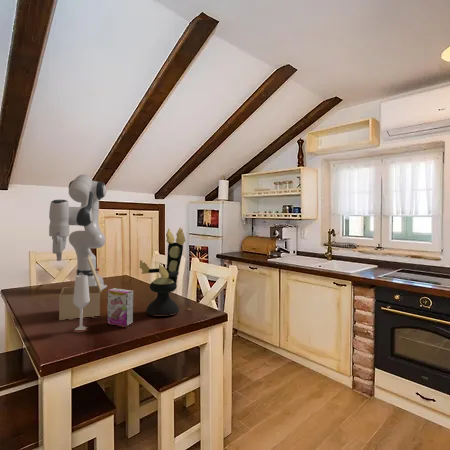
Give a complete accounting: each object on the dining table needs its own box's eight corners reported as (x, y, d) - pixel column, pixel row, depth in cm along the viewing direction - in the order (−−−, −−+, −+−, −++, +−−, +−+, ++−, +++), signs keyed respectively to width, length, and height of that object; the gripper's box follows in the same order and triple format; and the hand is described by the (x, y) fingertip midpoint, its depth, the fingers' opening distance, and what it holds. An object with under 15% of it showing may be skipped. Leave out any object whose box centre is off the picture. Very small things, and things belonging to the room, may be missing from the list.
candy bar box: (106, 325, 147) (106, 290, 147) (113, 321, 152) (113, 287, 152) (126, 328, 144) (127, 292, 143) (133, 325, 149) (133, 290, 148)
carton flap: (87, 259, 155) (88, 258, 155) (88, 254, 170) (89, 254, 170) (100, 292, 158) (101, 292, 158) (100, 285, 173) (101, 285, 173)
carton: (59, 320, 152) (59, 295, 151) (62, 310, 167) (62, 287, 166) (99, 316, 159) (100, 292, 158) (99, 307, 173) (100, 285, 173)
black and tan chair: (137, 312, 167) (138, 226, 165) (170, 304, 184) (172, 226, 182) (159, 321, 155) (161, 228, 153) (192, 311, 171) (195, 227, 170)
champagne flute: (86, 333, 137) (86, 277, 136) (70, 333, 137) (70, 277, 136) (91, 327, 144) (92, 274, 143) (76, 327, 144) (76, 274, 143)
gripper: (64, 234, 149) (64, 263, 149) (68, 231, 168) (68, 257, 168) (48, 234, 147) (48, 264, 147) (54, 231, 166) (54, 257, 166)
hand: (59, 260), depth 158 cm, fingers closed
